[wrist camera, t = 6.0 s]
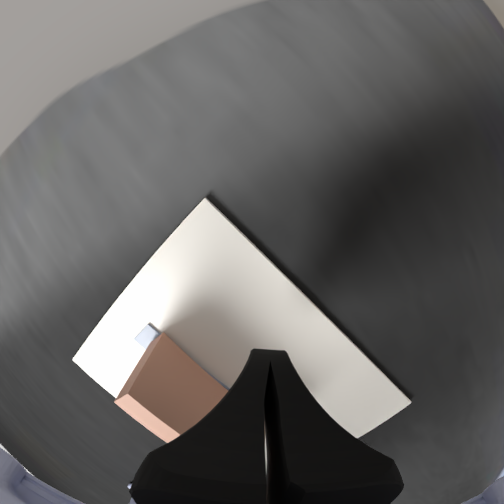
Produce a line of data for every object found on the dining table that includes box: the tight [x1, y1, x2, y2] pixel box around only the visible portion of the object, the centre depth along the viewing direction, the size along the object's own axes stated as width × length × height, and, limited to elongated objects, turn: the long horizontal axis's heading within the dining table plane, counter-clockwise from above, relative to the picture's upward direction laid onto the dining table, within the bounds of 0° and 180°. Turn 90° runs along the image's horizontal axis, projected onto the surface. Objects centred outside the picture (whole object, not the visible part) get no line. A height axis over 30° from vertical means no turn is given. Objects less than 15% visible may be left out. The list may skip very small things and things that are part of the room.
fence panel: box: [114, 332, 265, 443], centre depth 13 cm, size 9×2×5 cm, turn 40°
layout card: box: [72, 198, 412, 470], centre depth 16 cm, size 15×19×1 cm
